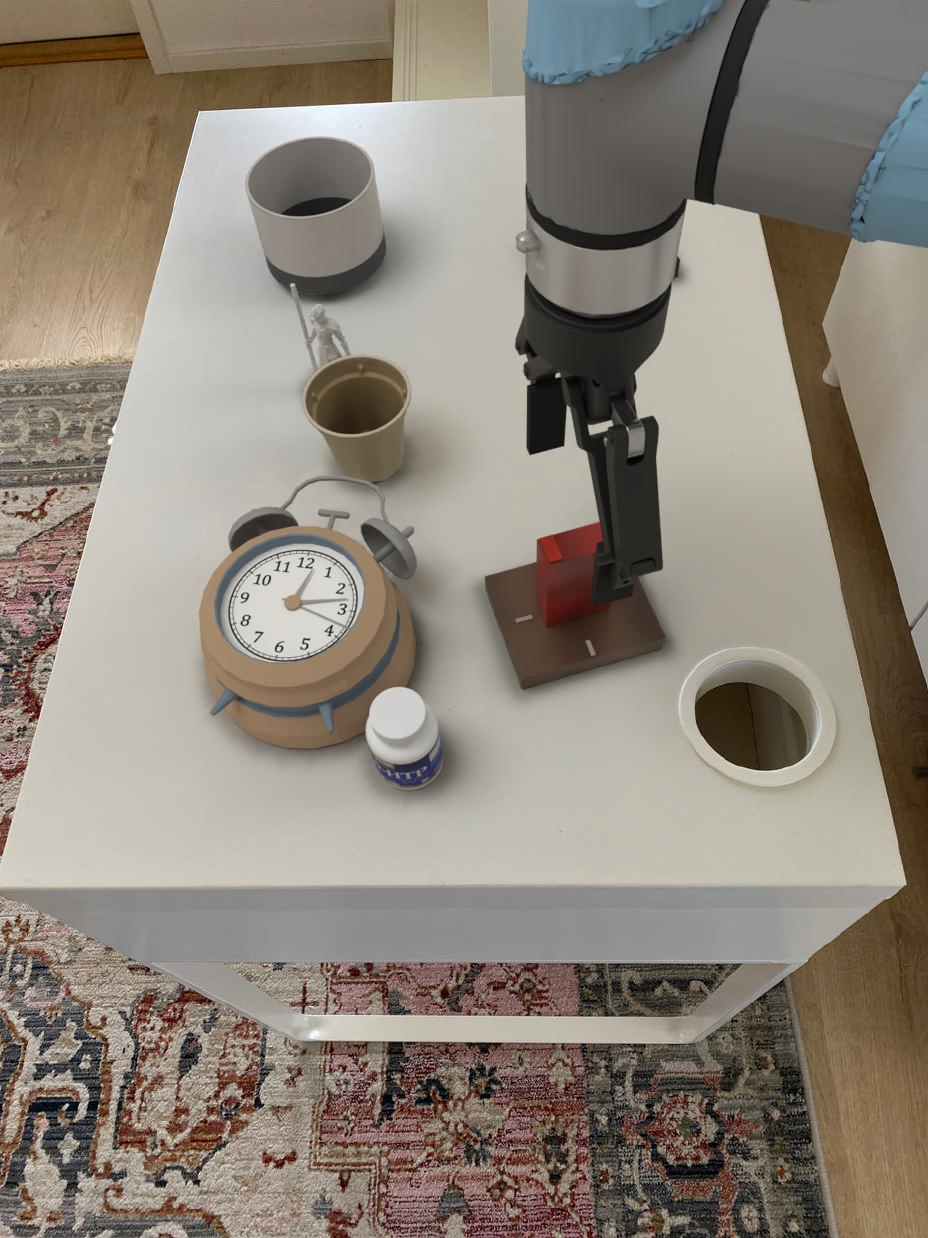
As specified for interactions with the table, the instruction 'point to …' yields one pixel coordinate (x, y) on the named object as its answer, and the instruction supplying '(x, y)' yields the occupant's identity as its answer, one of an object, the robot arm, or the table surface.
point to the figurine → (321, 333)
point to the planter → (317, 214)
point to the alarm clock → (307, 624)
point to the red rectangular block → (567, 574)
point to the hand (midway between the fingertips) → (576, 518)
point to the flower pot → (360, 413)
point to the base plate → (567, 630)
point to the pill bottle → (404, 739)
